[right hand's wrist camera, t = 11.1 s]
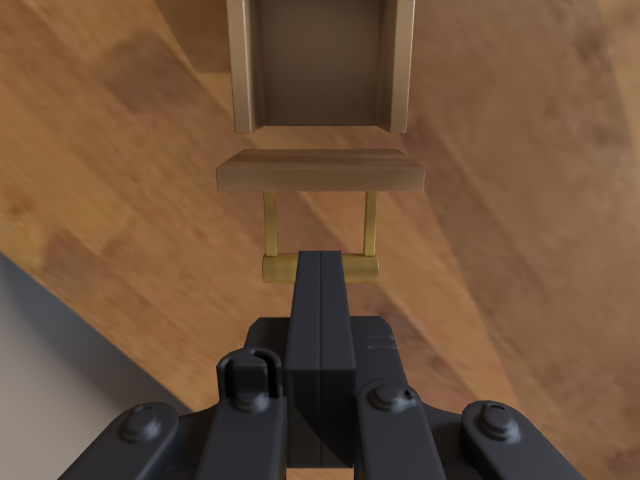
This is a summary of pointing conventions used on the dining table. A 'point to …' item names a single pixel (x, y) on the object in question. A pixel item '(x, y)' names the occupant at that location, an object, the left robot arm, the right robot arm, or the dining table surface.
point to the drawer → (320, 107)
